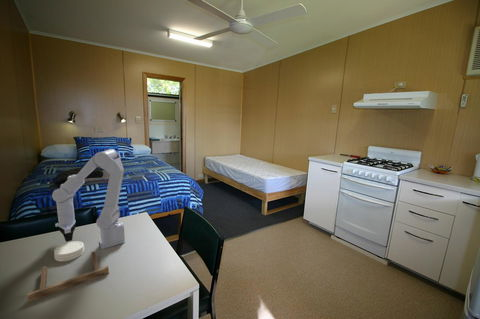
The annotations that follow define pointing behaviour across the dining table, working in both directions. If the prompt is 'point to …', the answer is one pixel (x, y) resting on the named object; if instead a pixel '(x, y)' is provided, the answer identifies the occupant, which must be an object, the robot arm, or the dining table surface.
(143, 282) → the dining table surface
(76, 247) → the white round dish
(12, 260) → the dining table surface
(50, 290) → the walnut bay
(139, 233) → the dining table surface
